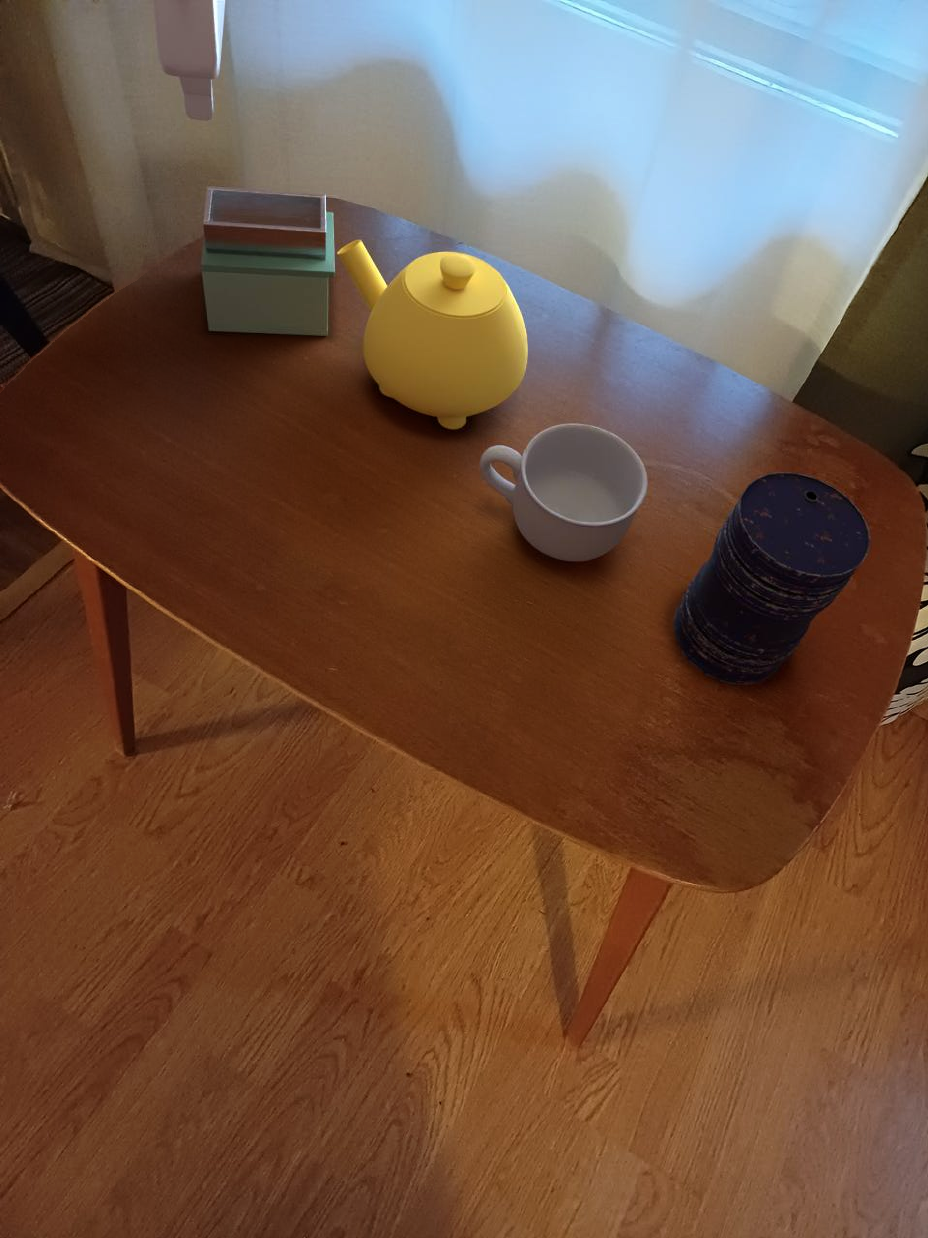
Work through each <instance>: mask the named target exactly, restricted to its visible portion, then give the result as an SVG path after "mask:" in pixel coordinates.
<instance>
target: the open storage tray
mask: <svg viewBox="0 0 928 1238" xmlns="http://www.w3.org/2000/svg"><path fill="white" fill-rule="evenodd" d="M326 198H327V197H326V194H322V193H309V192H295V191H283V190H281V191H279V190H269V189H268V190H265V189H255V188H254V189H253V188H239V187H225V186H213V185H211V186H209V185H207V186H206V193H205V201H204V213H203V222H202V227H203V237H204V236H205V246H206V253H217V254H233V255H250V256H267V257H283V258H300V259H316V260H326V212H327V210H326V209H327V202H326Z"/></svg>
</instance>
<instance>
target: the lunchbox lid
mask: <svg viewBox="0 0 928 1238" xmlns="http://www.w3.org/2000/svg"><path fill="white" fill-rule="evenodd" d="M334 229H335V227H334V212H333V211H326V260H316V259H300V258H283V257H267V256H250V255H233V254H217V253H206V246H205V236H204V235H203V241H202V250H201V259H200V260H201V261H200V268H201V272H202V271H216V272H234V273H252V274H270V275H288V276H305V277H323V278H328V279H335V277H336V269H335V268H336V267H335V264H336V263H335V230H334Z"/></svg>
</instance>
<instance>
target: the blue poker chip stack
mask: <svg viewBox="0 0 928 1238" xmlns="http://www.w3.org/2000/svg"><path fill="white" fill-rule="evenodd" d="M870 547H871V533H870V529H869V526H868V524H867V522H866V519H865V517H864V515H863V514H862V513H861V511H860V509H859V508H858V506H857V505H856V504H854V503H853V501H852V500H851V499H849V497H848V496H846V495H845V494H844V493H843V492H841V491H840V490H838V489H837V488H836V487H834V486H833V485H831V484H829V483H827V482H825V481H823V480H820V479H818V478H816V477H813V476H810V475H807V474H802V473H799V472H789V471H785V472H784V471H782V472H771V473H767V474H763V475H761V476H758V477H756V478H755V479H754V480H752V481H751V482H750V483H749V484H747V486H746V487H745V488H744V490H743V491H742V493H741V495H740V497H739V498H738V501H737V502H736V504H735V506H734V507H733V508H732V509H731V511H730V512H729V513H728V515H727V516H726V519H725V521H724V523H723V525H722V527H721V529H720V530H719V531H718V533H717V535H716V537H715V542H714V544H713V550H712V552H711V554H710V556H709V558H708V560H707V561H705V562H704V563H703V564H702V566H701V567H700V568H699V569H698V571H697V573H696V575H695V576H694V577H693V579H692V580H691V581H690V583H689V585H688V587H686V591H685V593H684V594H683V598H682V601H681V602H680V603H679V605H678V606H677V609H676V611H675V613H674V617H673V634H674V638H675V641H676V644H677V646H678V648H679V650H680V651H681V653H682V654H683V655H684V657H685V658H686V659H687V660H688V661H689V663H690V664H692V665H693V666H694V667H695V668H696V669H698V671H700V672H702V673H703V674H704V675H706V676H707V677H710V678H712V679H714V680H717V681H719V682H722V683H725V684H726V683H727V684H730V685H731V684H732V685H738V686H743V685H744V686H745V685H753V684H758V683H760V682H763V681H765V680H767V679H768V678H770V677H771V676H773V674H775V673H776V672H777V671H778V670H779V668H780V667H781V665H782V663H784V662H785V661H786V660H787V659H789V657H790V656H791V655H792V654H793V653H794V651H795V650H796V649H797V647H798V646H799V645H800V643H801V641H802V639H803V638H804V637H805V636H806V634H807V632H808V630H809V628H810V626H811V623H812V621H813V620H814V619H815V618H816V616H817V615H818V614H820V613H821V612H823V611H825V609H826V608H828V607H829V606H831V604H832V603H833V602H834V601H835V599H836V598H837V596H838V595H839V594H840V593H841V592H842V591H843V589H844V588H845V587H846V586H847V584H848V583H849V581H850V580H851V578H852V576H853V575H854V573H855V571H856V570H857V569H858V568H859V567H860V566H861V565H862V564H863V562H864V561H865V560H866V557H867V556H868V553H869V551H870Z"/></svg>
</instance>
